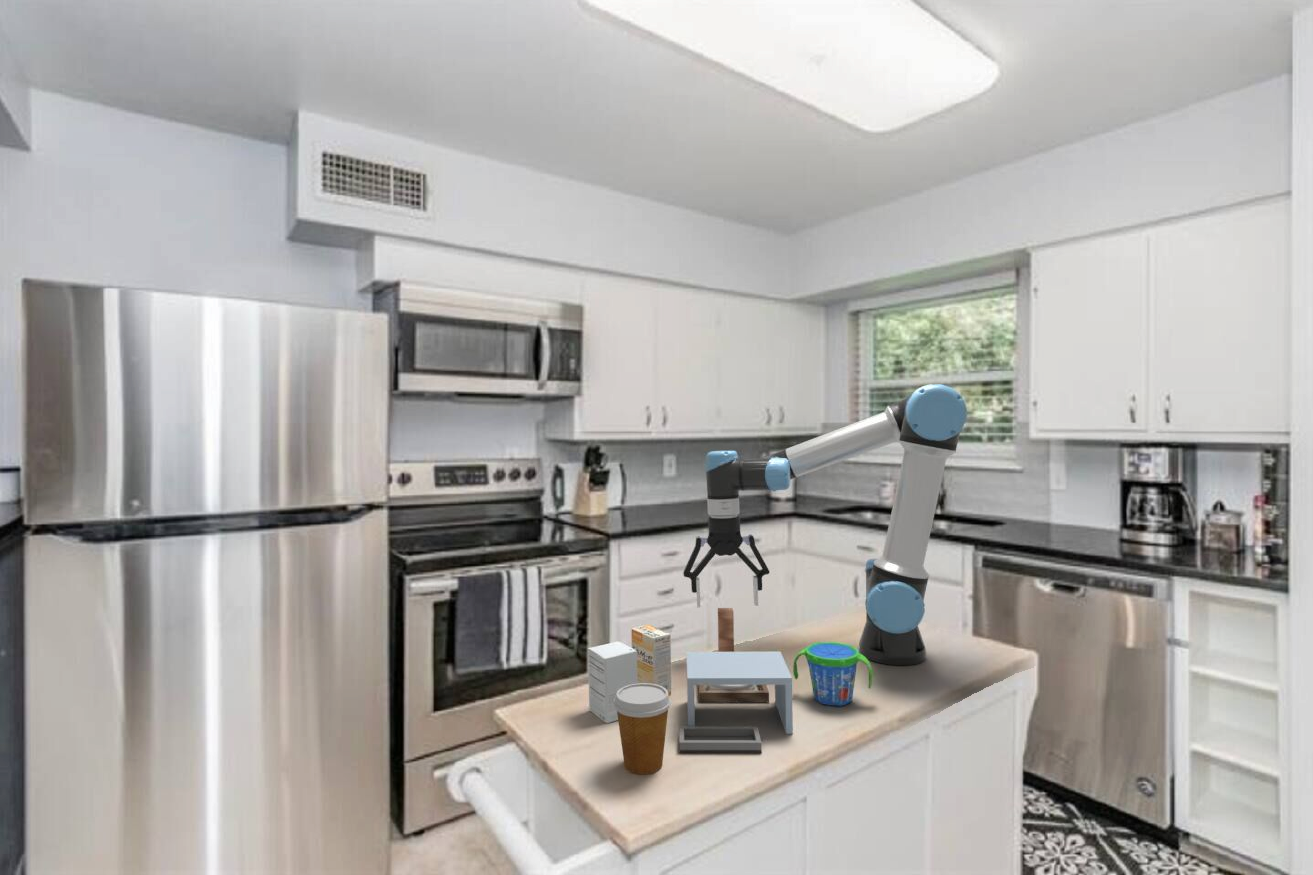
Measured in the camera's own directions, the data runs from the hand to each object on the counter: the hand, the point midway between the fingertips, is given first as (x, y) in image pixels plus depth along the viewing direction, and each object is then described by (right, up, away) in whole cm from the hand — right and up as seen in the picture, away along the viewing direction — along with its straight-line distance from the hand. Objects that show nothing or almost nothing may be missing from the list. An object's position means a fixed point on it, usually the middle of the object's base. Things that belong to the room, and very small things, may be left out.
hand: (727, 605), depth 159 cm
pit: (-6, -14, -41) cm, 44 cm away
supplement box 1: (-25, -14, -28) cm, 40 cm away
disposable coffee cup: (-19, -15, -48) cm, 54 cm away
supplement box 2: (-18, -14, -18) cm, 29 cm away
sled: (-1, -13, -11) cm, 17 cm away
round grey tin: (-1, -14, -18) cm, 23 cm away
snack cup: (+19, -14, -23) cm, 33 cm away
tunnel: (-1, -14, -31) cm, 34 cm away
